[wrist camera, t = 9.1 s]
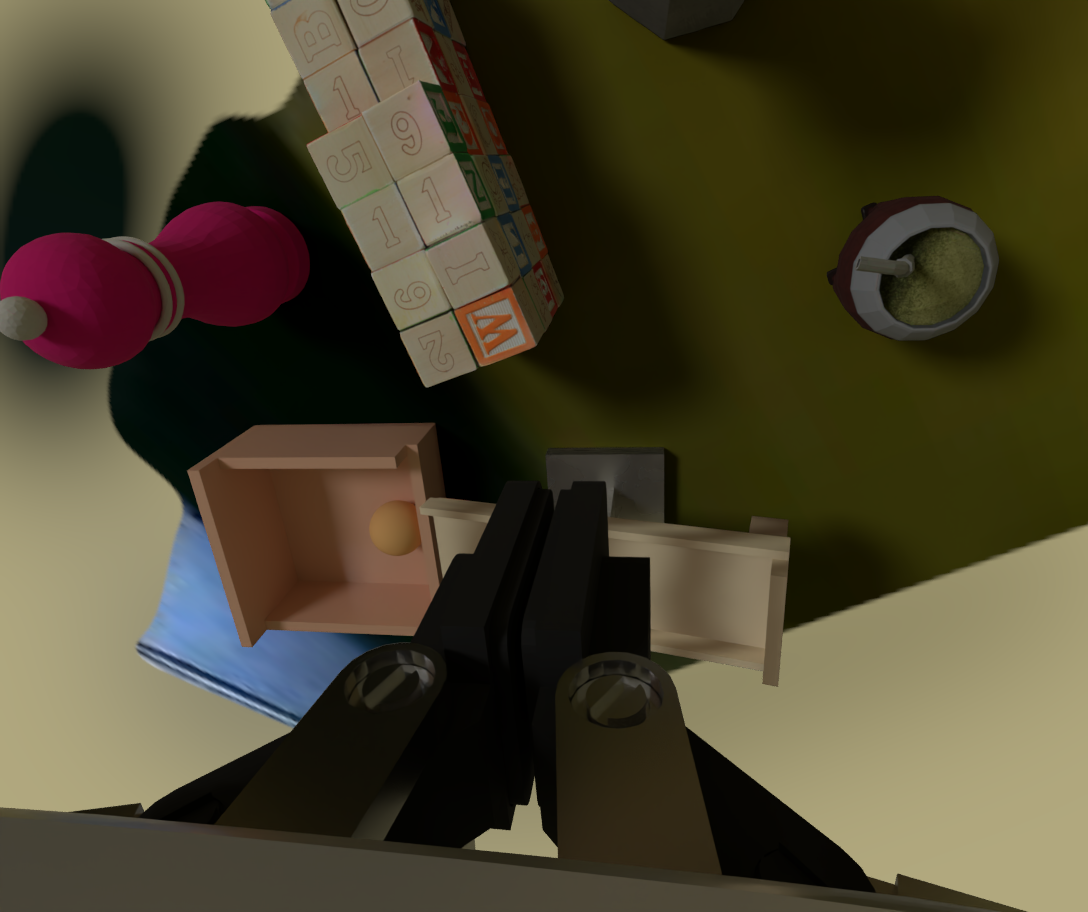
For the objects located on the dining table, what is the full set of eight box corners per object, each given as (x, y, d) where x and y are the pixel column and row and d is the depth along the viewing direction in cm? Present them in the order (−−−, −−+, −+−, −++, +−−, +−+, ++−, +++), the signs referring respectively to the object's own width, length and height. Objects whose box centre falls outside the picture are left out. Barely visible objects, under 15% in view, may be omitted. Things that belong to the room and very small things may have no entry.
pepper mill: (230, 311, 47) (-40, 409, 29) (203, 200, 44) (-115, 231, 26) (327, 309, 46) (110, 409, 27) (306, 194, 43) (48, 223, 25)
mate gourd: (961, 287, 39) (1122, 357, 26) (823, 340, 41) (904, 429, 28) (929, 161, 37) (1088, 163, 23) (785, 224, 39) (853, 260, 26)
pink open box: (435, 422, 48) (395, 470, 40) (459, 588, 53) (428, 655, 46) (255, 425, 50) (187, 470, 43) (296, 583, 56) (242, 646, 48)
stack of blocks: (325, -18, 38) (187, -90, 27) (420, -76, 36) (315, -180, 25) (481, 333, 45) (423, 392, 34) (568, 299, 43) (537, 349, 32)
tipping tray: (792, 512, 38) (788, 568, 33) (774, 724, 45) (768, 798, 40) (451, 477, 46) (405, 519, 41) (477, 662, 52) (440, 718, 47)
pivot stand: (663, 447, 46) (664, 490, 40) (664, 571, 50) (664, 626, 44) (548, 448, 47) (532, 489, 41) (557, 568, 51) (544, 622, 45)
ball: (432, 494, 49) (401, 520, 45) (439, 541, 50) (410, 570, 47) (386, 488, 50) (352, 513, 47) (394, 534, 52) (363, 562, 48)
